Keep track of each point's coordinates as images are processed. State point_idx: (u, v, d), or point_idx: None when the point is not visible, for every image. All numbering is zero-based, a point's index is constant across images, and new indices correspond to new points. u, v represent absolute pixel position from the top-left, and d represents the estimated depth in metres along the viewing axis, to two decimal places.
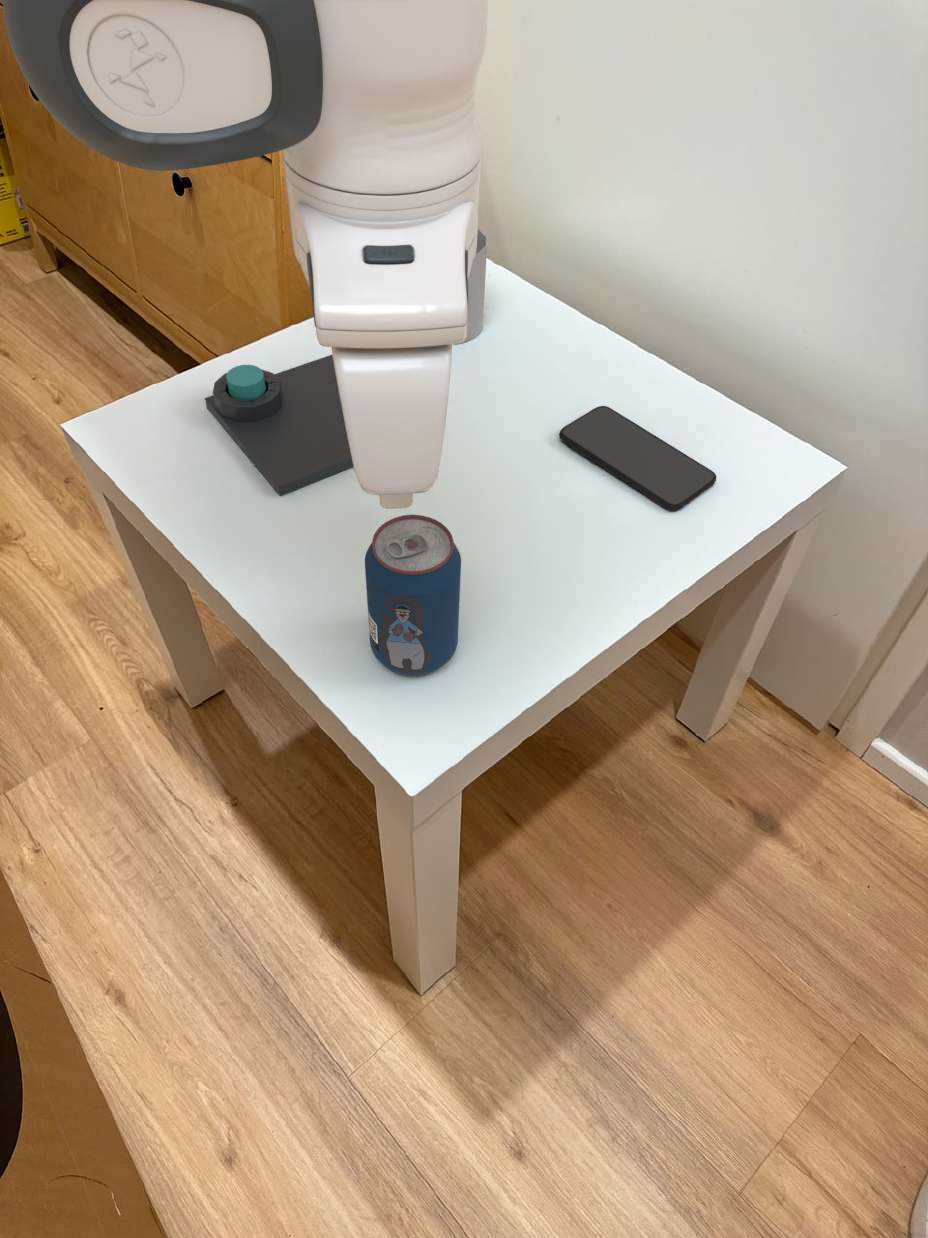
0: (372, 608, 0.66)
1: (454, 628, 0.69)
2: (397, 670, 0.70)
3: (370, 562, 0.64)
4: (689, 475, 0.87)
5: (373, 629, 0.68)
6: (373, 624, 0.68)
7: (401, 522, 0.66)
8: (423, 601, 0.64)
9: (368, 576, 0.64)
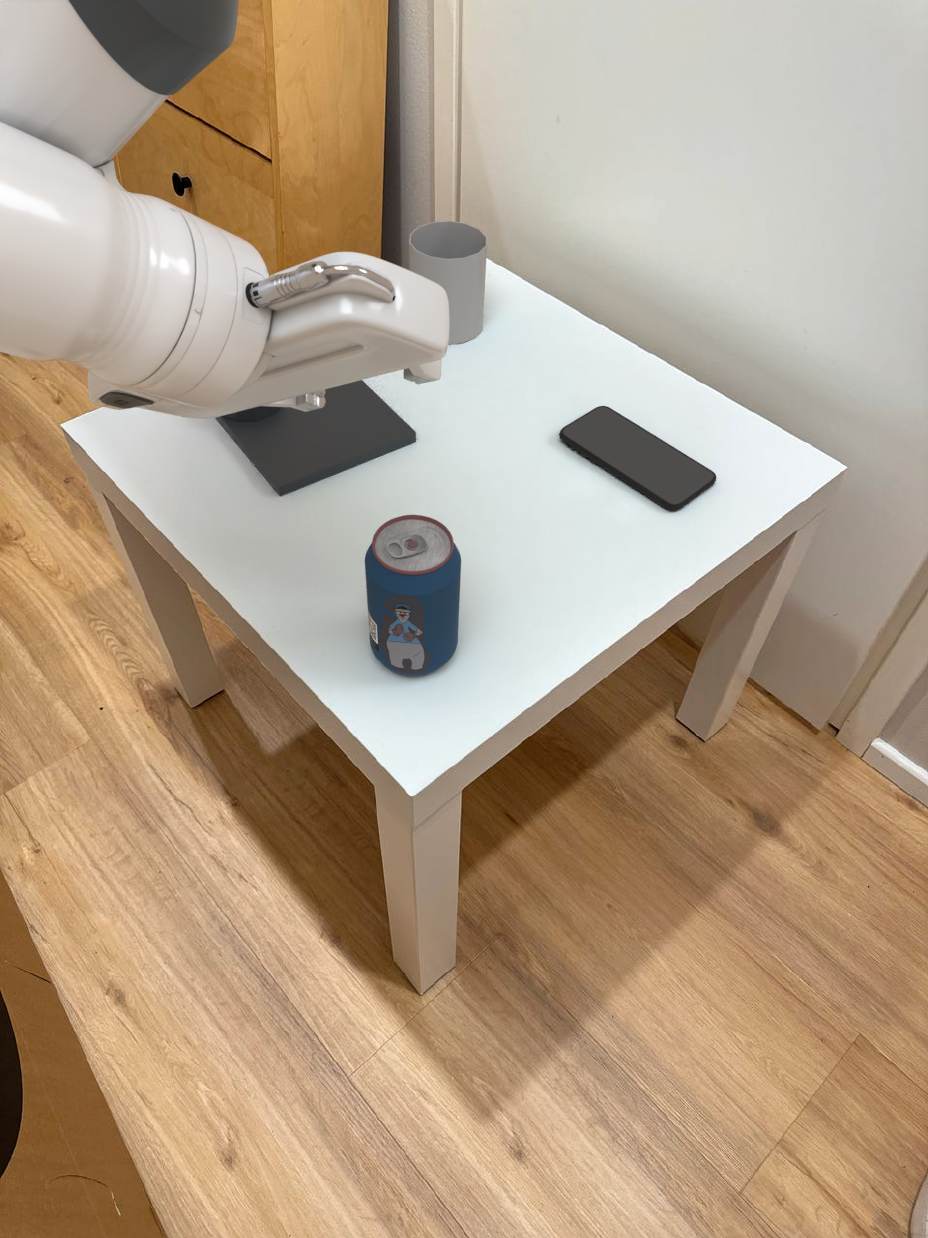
0: (372, 608, 0.66)
1: (454, 628, 0.69)
2: (397, 670, 0.70)
3: (370, 562, 0.64)
4: (689, 475, 0.87)
5: (373, 629, 0.68)
6: (373, 624, 0.68)
7: (401, 522, 0.66)
8: (423, 601, 0.64)
9: (368, 576, 0.64)
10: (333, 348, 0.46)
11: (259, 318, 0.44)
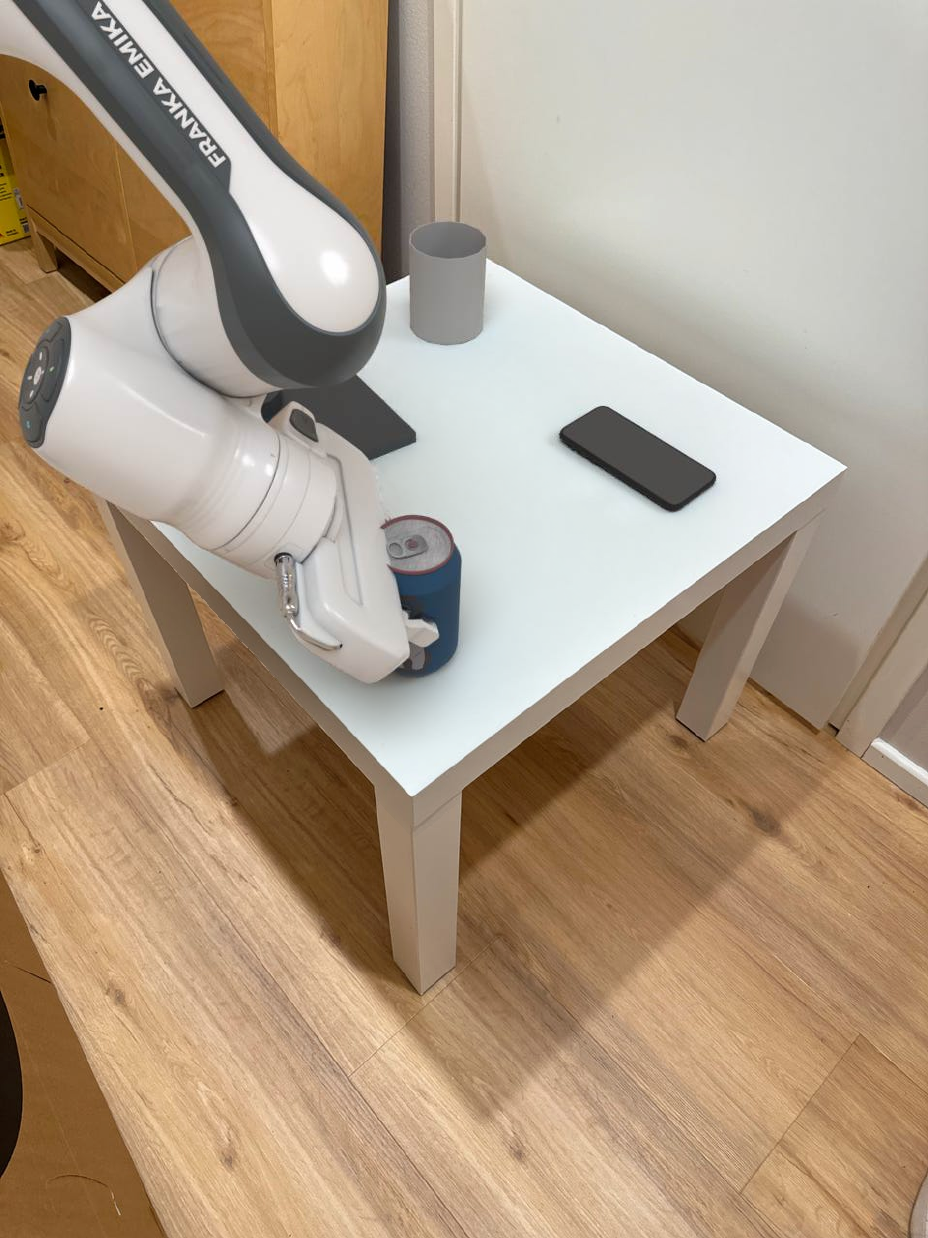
0: None
1: (455, 628, 0.69)
2: (398, 670, 0.70)
3: None
4: (689, 475, 0.87)
5: None
6: None
7: (401, 522, 0.66)
8: (424, 601, 0.64)
9: None
10: None
11: None
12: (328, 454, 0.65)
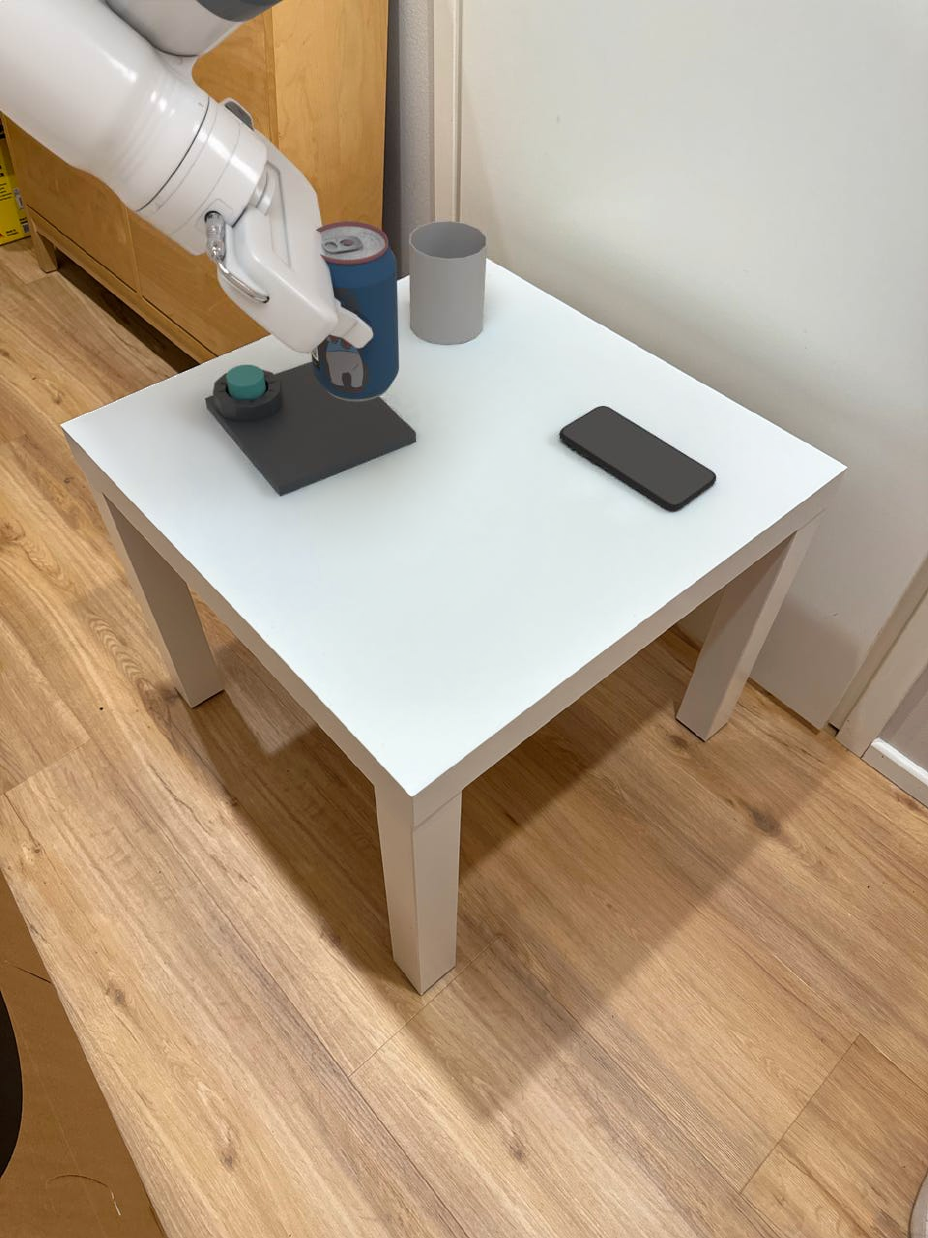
0: None
1: (393, 344, 0.70)
2: (338, 389, 0.71)
3: None
4: (689, 475, 0.87)
5: None
6: None
7: (338, 228, 0.67)
8: (358, 296, 0.65)
9: None
10: None
11: None
12: (267, 161, 0.67)
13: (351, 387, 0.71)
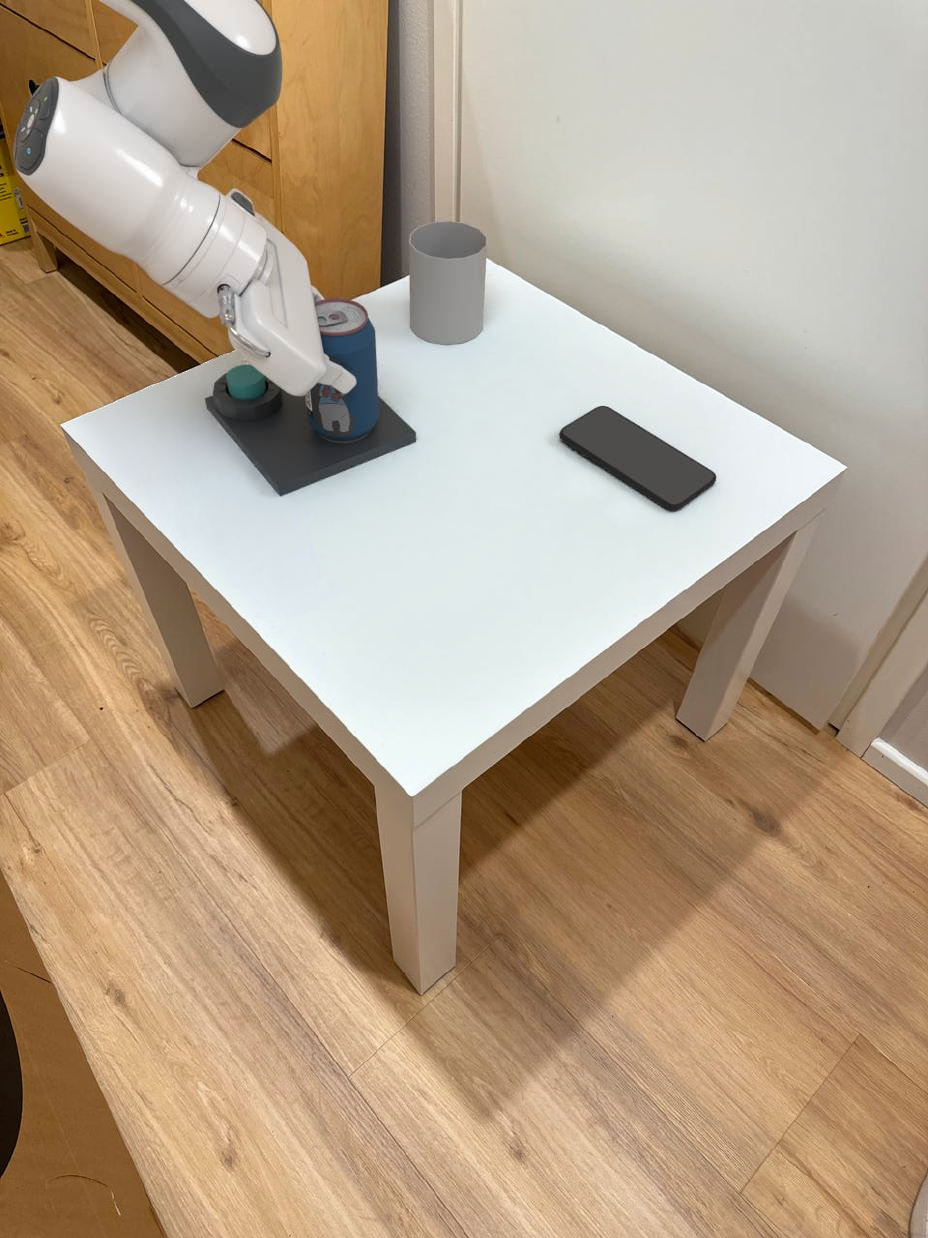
0: None
1: (373, 396, 0.85)
2: (329, 434, 0.86)
3: None
4: (689, 475, 0.87)
5: (308, 397, 0.85)
6: None
7: (327, 303, 0.82)
8: (344, 360, 0.80)
9: None
10: None
11: None
12: None
13: (340, 432, 0.86)
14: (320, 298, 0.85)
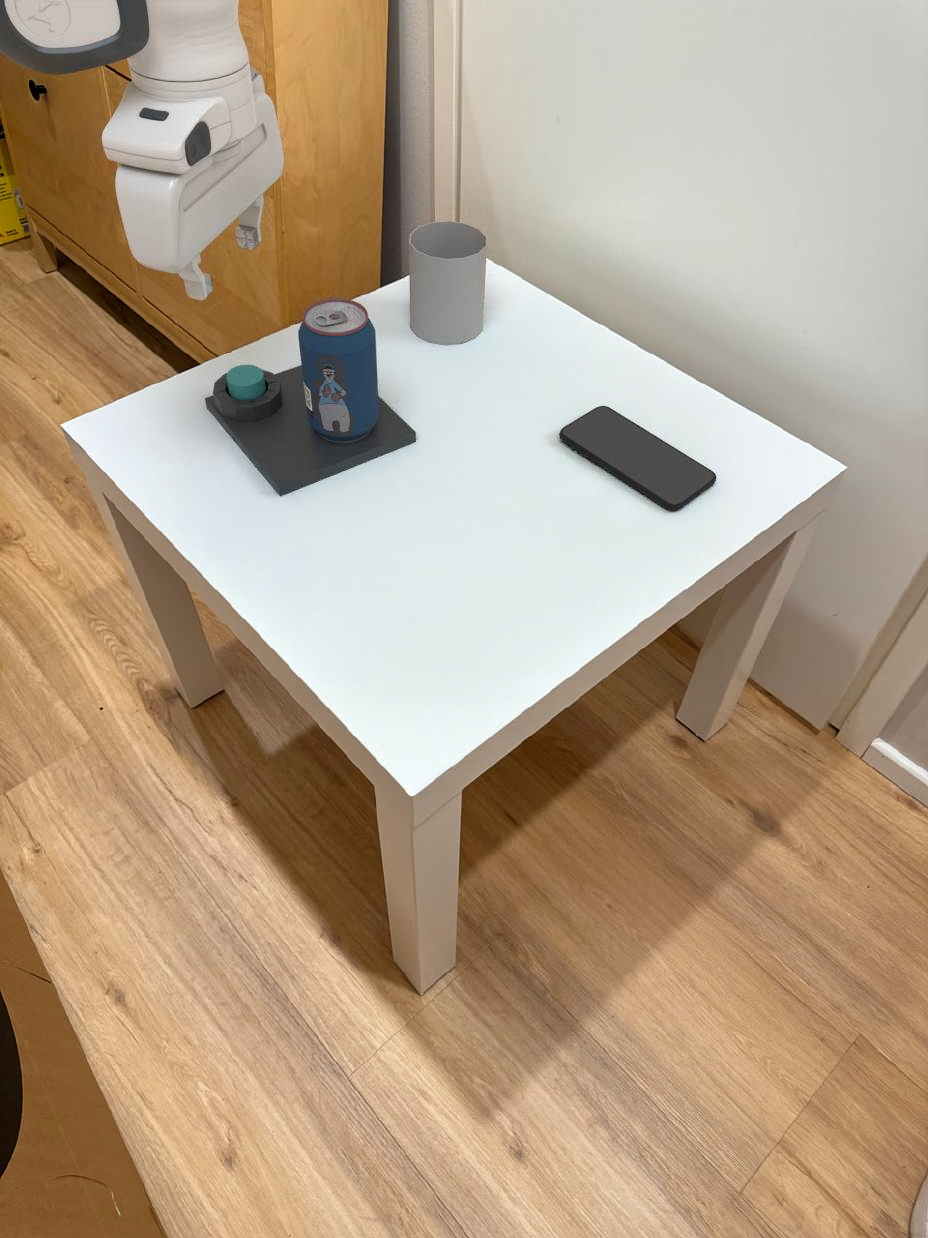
0: (305, 375, 0.83)
1: (373, 396, 0.85)
2: (329, 434, 0.86)
3: (302, 331, 0.80)
4: (689, 475, 0.87)
5: (308, 397, 0.85)
6: (307, 391, 0.84)
7: (327, 303, 0.82)
8: (344, 360, 0.80)
9: (300, 343, 0.81)
10: (254, 143, 0.77)
11: None
12: None
13: (340, 432, 0.86)
14: None
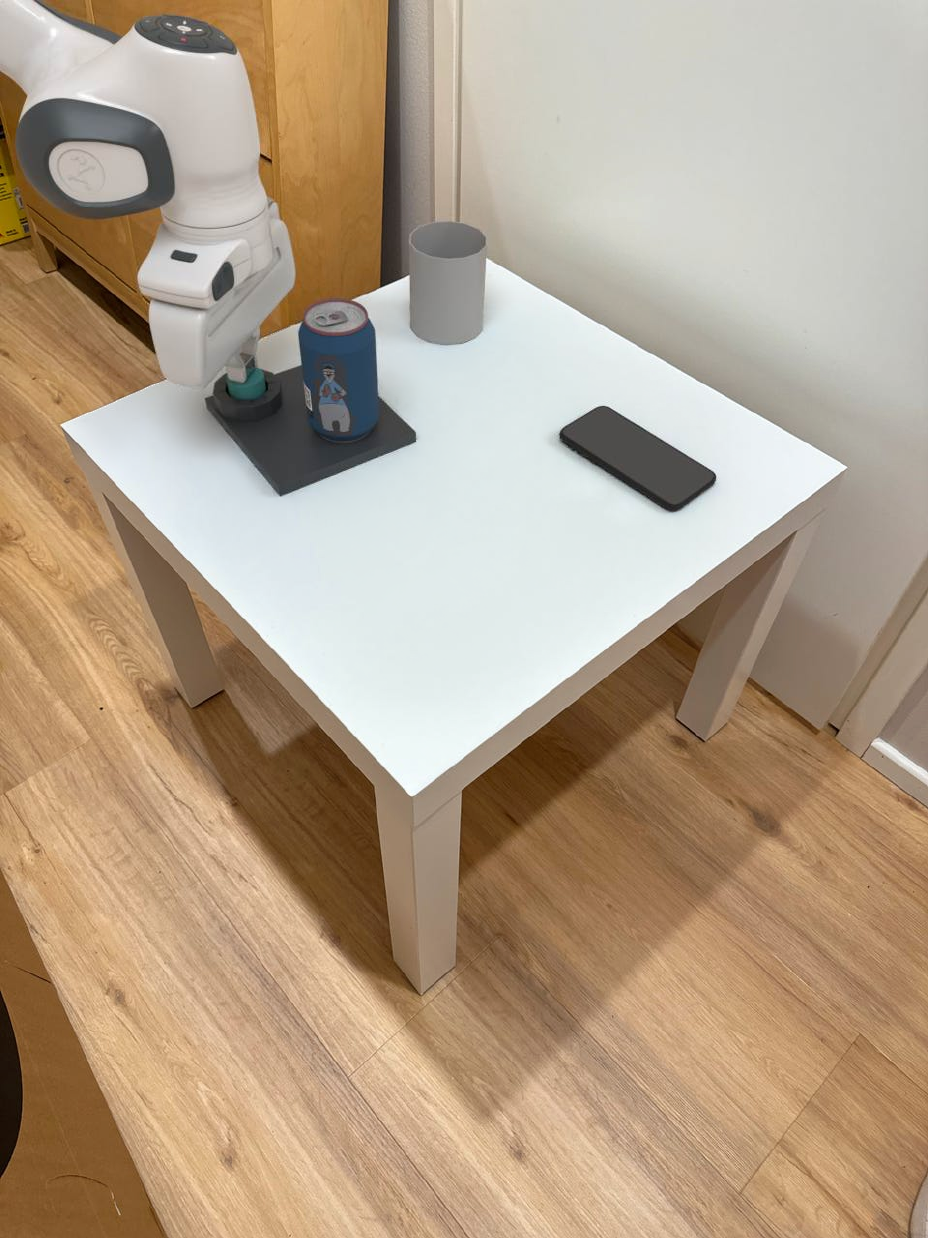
0: (305, 375, 0.83)
1: (373, 396, 0.85)
2: (329, 434, 0.86)
3: (302, 331, 0.80)
4: (689, 475, 0.87)
5: (308, 397, 0.85)
6: (307, 391, 0.84)
7: (327, 303, 0.82)
8: (344, 360, 0.80)
9: (300, 343, 0.81)
10: (270, 264, 0.85)
11: None
12: None
13: (340, 432, 0.86)
14: None
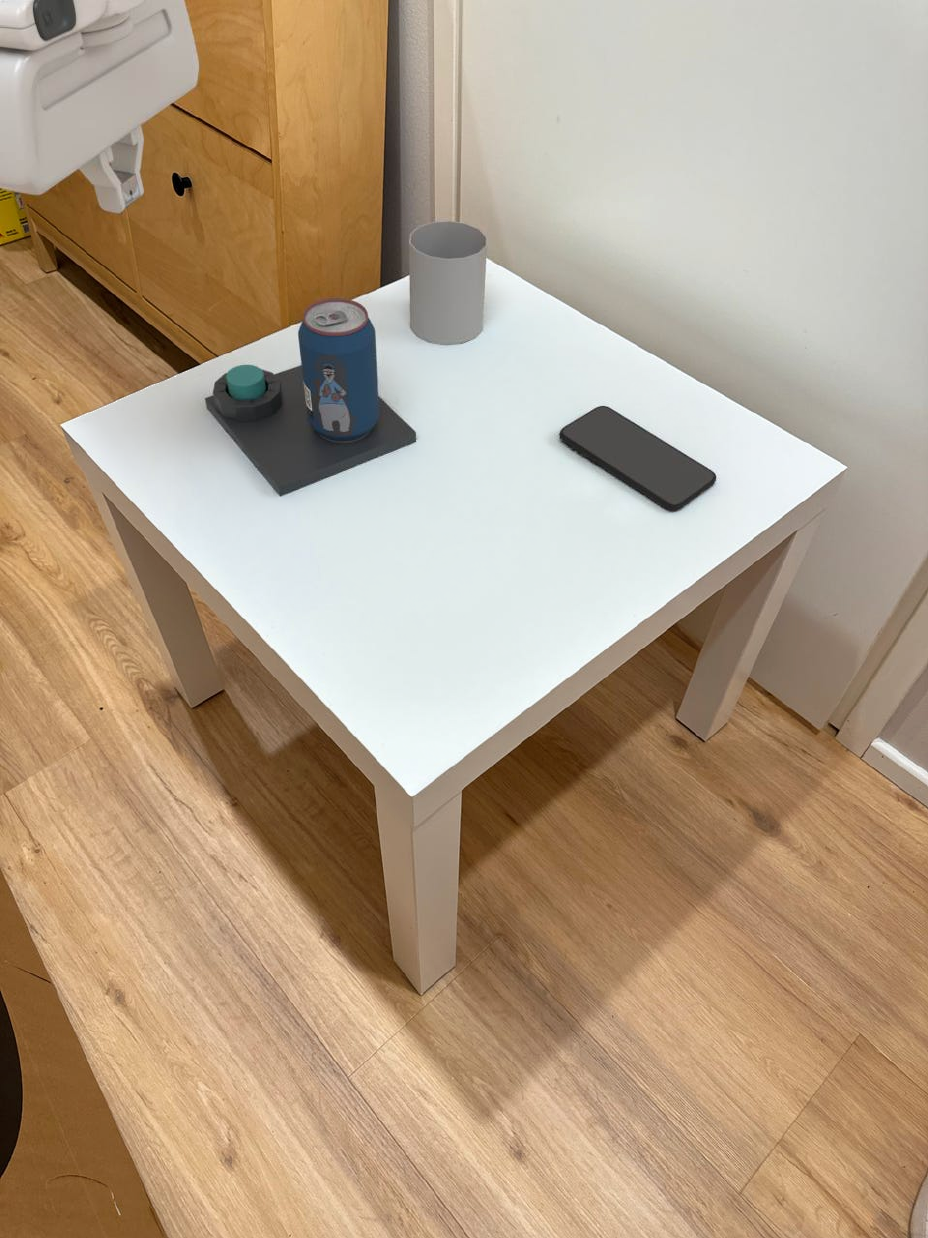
0: (305, 375, 0.83)
1: (373, 396, 0.85)
2: (329, 434, 0.86)
3: (302, 331, 0.80)
4: (689, 475, 0.87)
5: (308, 397, 0.85)
6: (307, 391, 0.84)
7: (327, 303, 0.82)
8: (344, 360, 0.80)
9: (300, 343, 0.81)
10: (154, 34, 0.59)
11: None
12: None
13: (340, 432, 0.86)
14: None
